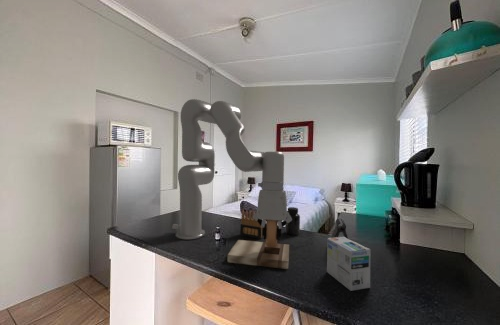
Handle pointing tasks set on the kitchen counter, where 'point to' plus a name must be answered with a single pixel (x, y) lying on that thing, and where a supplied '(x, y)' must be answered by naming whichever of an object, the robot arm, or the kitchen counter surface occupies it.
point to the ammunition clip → (250, 226)
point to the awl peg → (271, 233)
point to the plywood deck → (259, 254)
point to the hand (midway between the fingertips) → (271, 237)
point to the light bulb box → (349, 263)
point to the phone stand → (339, 229)
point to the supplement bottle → (293, 222)
